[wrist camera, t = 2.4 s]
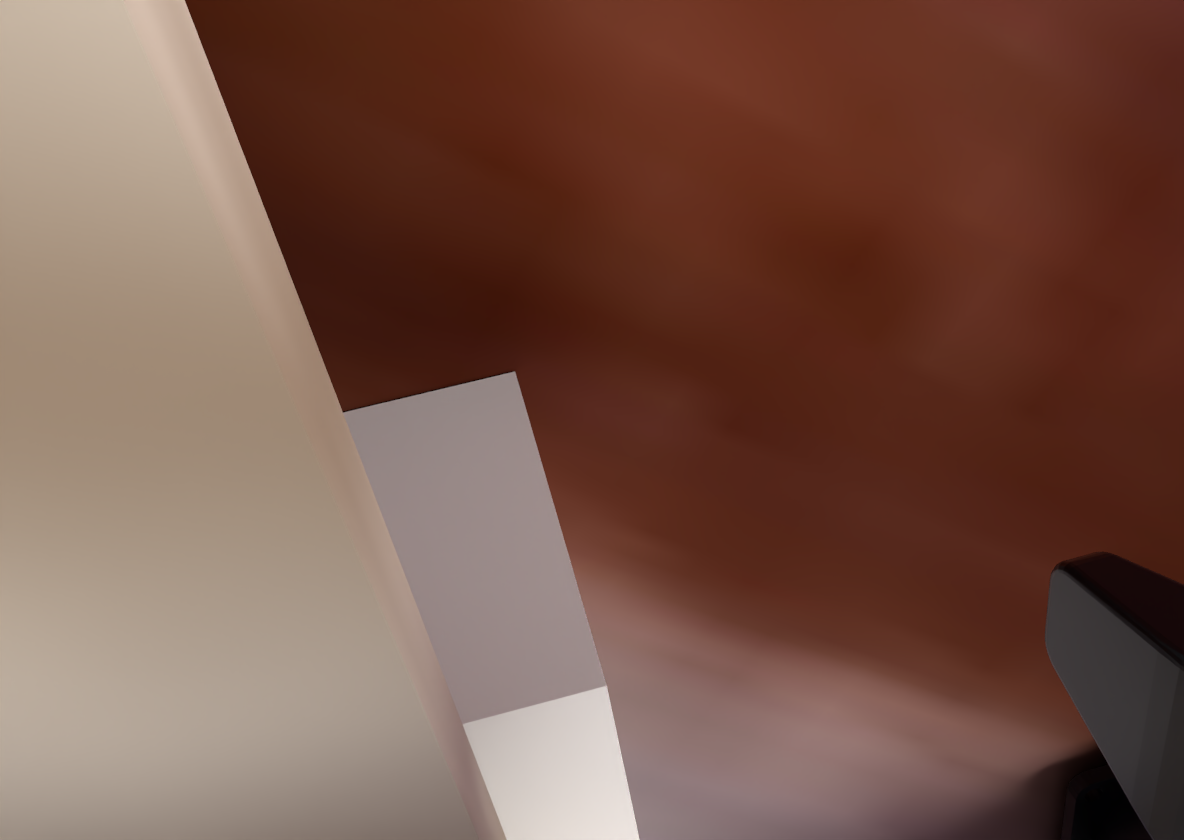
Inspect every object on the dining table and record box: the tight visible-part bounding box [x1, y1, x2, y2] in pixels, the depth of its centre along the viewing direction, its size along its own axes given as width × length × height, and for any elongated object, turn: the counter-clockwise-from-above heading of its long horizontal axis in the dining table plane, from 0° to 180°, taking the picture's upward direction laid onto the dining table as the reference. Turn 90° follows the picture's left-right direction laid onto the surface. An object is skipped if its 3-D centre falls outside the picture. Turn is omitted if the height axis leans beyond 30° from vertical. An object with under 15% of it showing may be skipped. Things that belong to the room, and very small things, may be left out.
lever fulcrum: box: [343, 372, 639, 840], centre depth 17 cm, size 5×10×8 cm, turn 99°
